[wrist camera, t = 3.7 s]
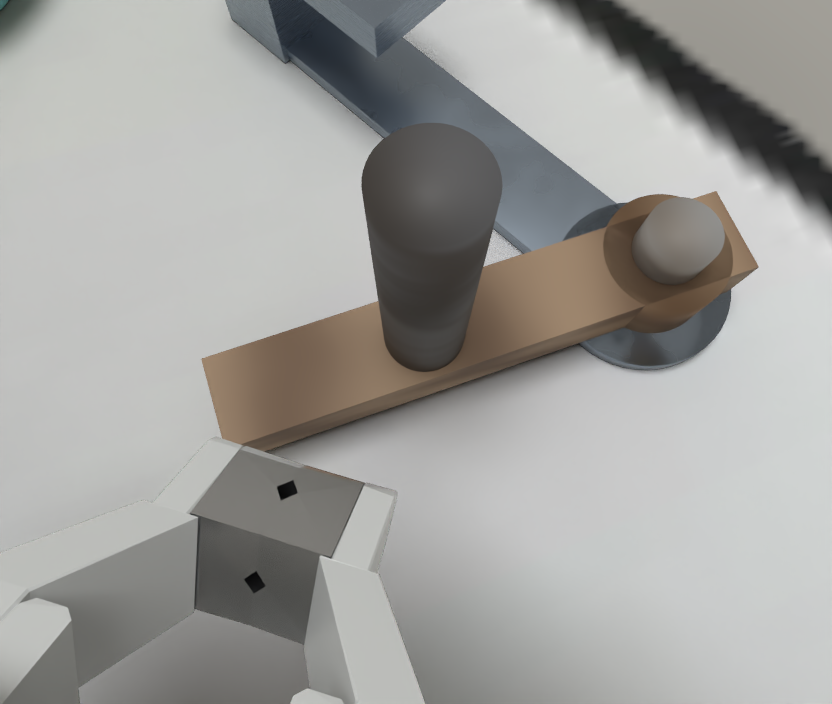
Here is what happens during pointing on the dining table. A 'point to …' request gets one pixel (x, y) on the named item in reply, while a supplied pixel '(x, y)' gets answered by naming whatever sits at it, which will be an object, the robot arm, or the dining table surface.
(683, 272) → the walnut link
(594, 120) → the dining table surface
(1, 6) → the cupcake
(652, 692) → the dining table surface
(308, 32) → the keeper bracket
